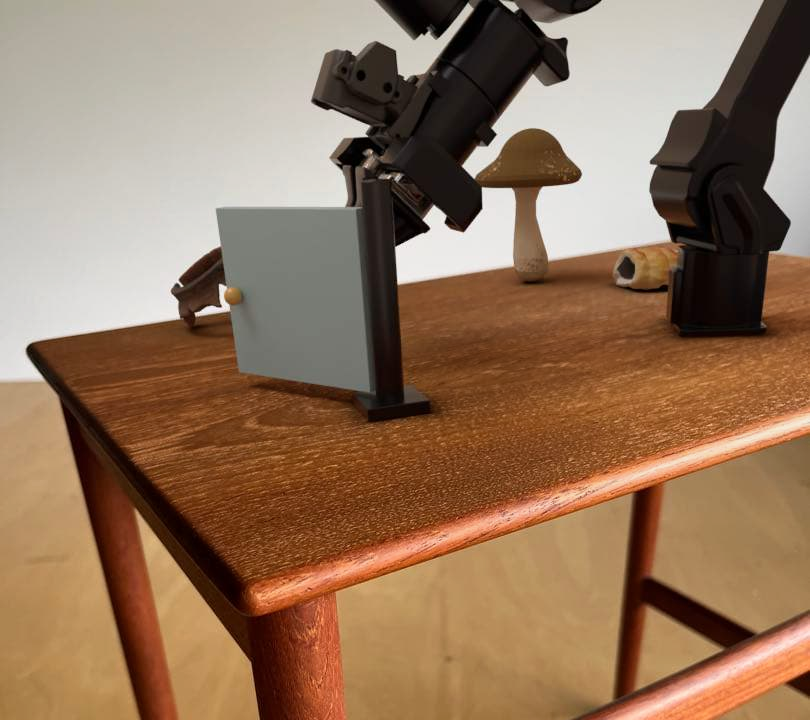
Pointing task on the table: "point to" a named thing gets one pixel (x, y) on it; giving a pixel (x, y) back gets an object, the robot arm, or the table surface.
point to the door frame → (384, 311)
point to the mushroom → (529, 191)
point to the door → (299, 293)
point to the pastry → (644, 267)
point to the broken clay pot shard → (200, 286)
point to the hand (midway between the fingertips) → (324, 276)
